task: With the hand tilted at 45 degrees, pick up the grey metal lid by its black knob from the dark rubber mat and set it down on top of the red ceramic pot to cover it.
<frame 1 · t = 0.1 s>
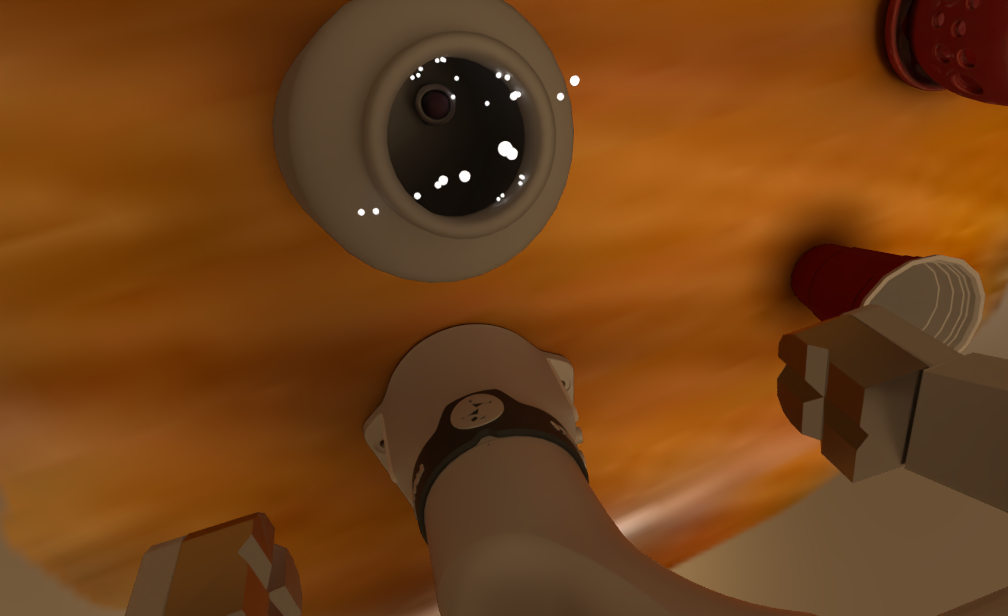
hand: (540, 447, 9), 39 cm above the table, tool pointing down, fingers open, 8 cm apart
plastic cup: (814, 272, 58), on the table
plant pot: (936, 13, 51), on the table
jar: (411, 113, 44), on the table
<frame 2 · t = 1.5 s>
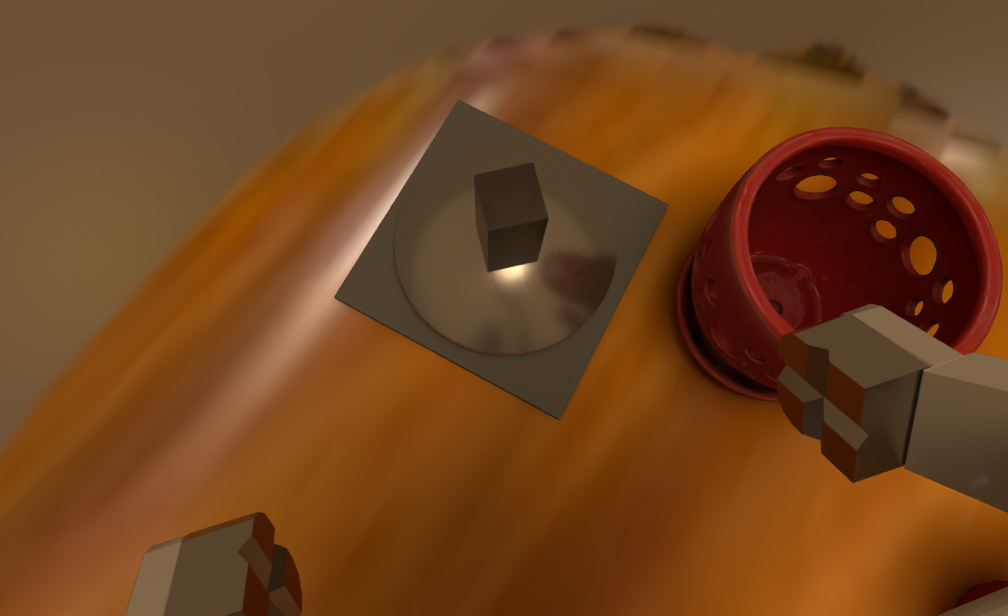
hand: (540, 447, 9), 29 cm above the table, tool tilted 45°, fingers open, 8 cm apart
mat: (505, 251, 41), on the table
plant pot: (758, 309, 40), on the table
lid: (508, 225, 36), on the mat
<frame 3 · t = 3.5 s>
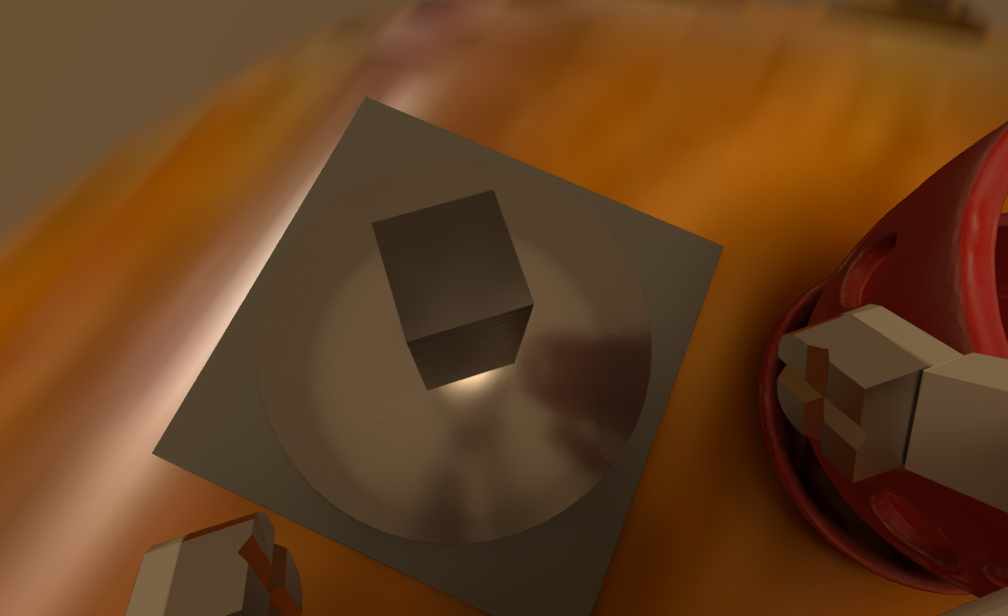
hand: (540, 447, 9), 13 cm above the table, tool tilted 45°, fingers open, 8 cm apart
mat: (458, 344, 24), on the table
plant pot: (890, 412, 24), on the table
lid: (455, 310, 19), on the mat
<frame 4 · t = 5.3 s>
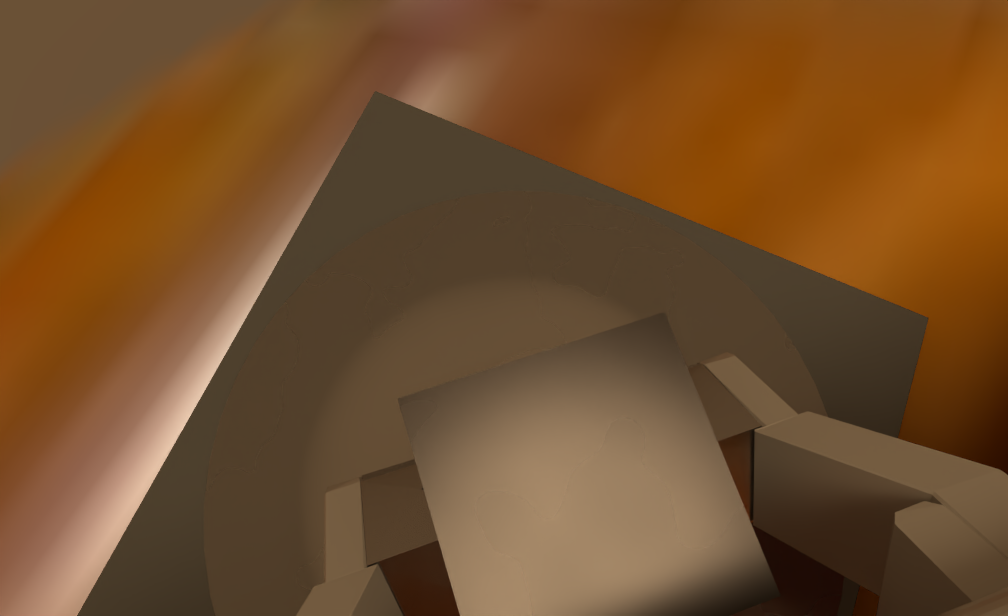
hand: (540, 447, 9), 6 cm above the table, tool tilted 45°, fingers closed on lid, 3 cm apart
mat: (525, 482, 15), on the table
lid: (544, 486, 11), on the mat, touching gripper
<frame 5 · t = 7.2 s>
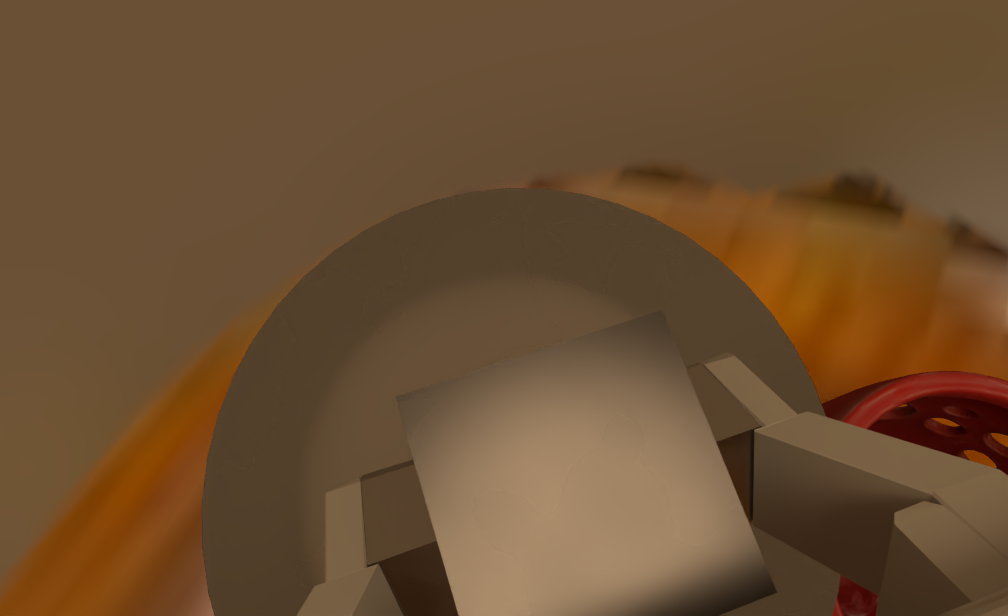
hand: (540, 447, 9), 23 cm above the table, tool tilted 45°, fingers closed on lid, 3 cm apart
plant pot: (811, 533, 32), on the table
lid: (542, 483, 11), point 22 cm above the table, touching gripper
when the fingers open (19 cm above the table, at t = 9.1 s): lid drops 2 cm, resting on plant pot.
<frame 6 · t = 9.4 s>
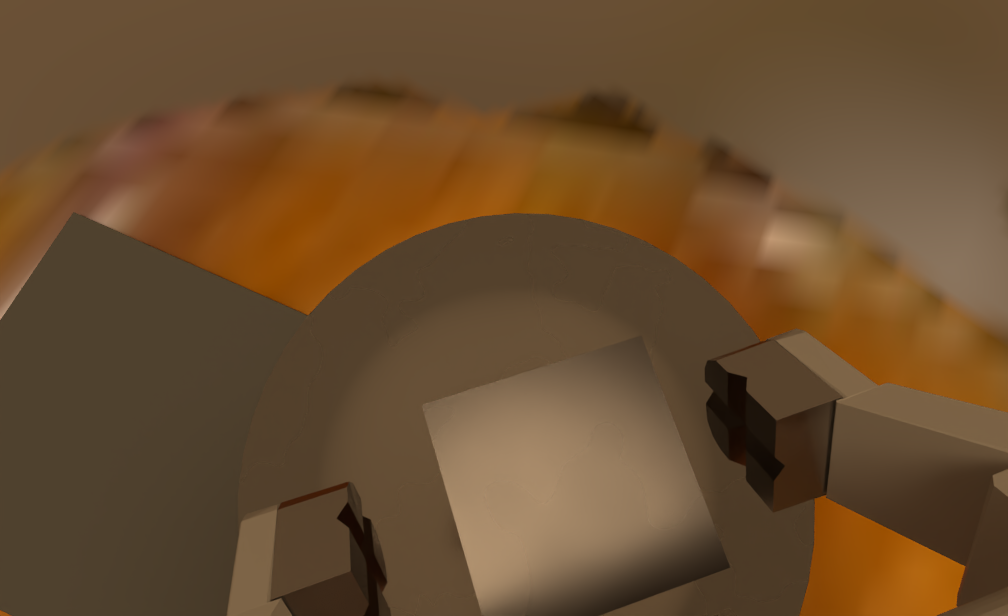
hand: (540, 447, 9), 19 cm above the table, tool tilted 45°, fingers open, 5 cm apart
mat: (132, 436, 28), on the table
lid: (542, 480, 12), point 16 cm above the table, touching plant pot
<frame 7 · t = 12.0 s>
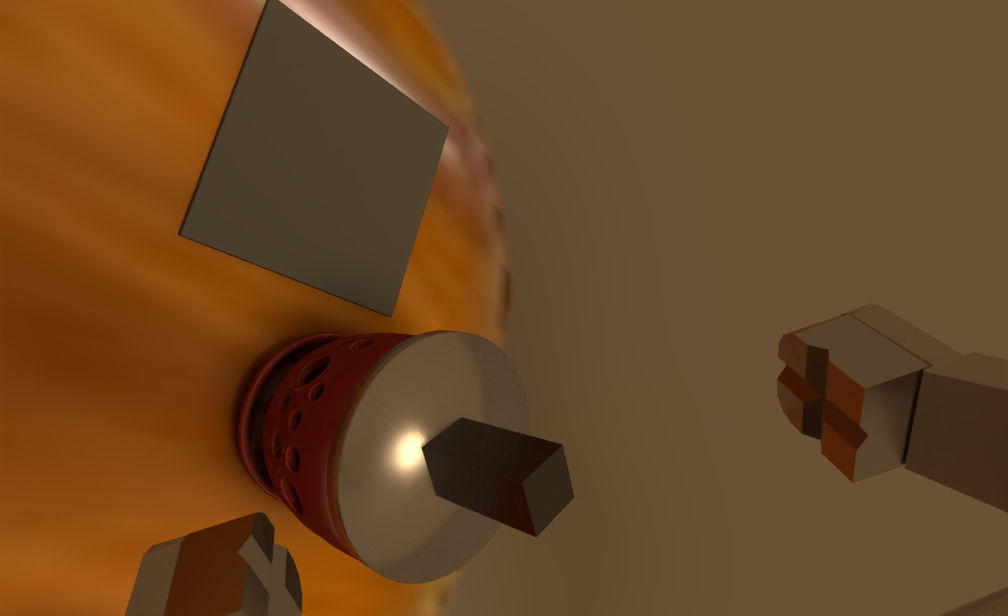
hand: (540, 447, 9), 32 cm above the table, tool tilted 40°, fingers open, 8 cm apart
mat: (334, 172, 43), on the table
plant pot: (313, 414, 43), on the table, touching lid
lid: (487, 468, 33), point 16 cm above the table, touching plant pot
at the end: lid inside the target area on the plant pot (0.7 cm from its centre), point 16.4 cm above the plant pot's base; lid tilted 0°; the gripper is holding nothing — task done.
